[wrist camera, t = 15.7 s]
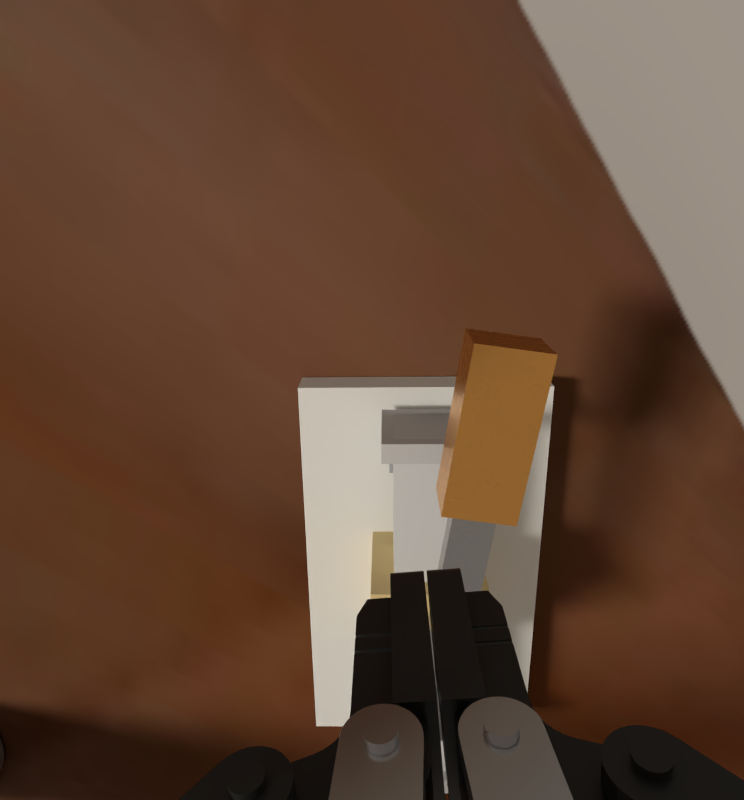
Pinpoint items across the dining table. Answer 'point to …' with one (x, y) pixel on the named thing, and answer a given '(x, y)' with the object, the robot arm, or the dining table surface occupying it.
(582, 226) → the dining table surface
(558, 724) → the dining table surface
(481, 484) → the lever
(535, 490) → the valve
